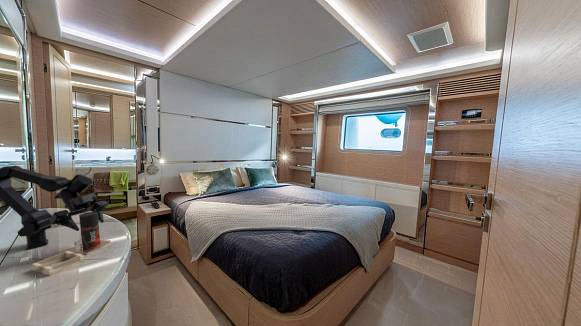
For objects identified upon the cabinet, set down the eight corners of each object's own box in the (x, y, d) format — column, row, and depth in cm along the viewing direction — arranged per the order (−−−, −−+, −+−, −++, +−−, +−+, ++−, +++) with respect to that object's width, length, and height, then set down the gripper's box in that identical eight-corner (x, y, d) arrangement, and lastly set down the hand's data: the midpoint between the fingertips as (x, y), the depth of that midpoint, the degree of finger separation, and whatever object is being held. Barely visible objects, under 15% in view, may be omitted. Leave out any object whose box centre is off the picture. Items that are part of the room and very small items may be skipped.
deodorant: (89, 250, 92) (86, 216, 90) (78, 248, 93) (75, 215, 91) (103, 243, 97) (101, 212, 96) (93, 242, 98) (90, 211, 97)
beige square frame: (32, 270, 78) (32, 264, 78) (67, 256, 88) (67, 250, 88) (49, 275, 75) (49, 269, 75) (83, 260, 85) (83, 254, 85)
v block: (110, 242, 100) (110, 235, 100) (87, 254, 89) (86, 247, 89) (90, 241, 101) (89, 234, 101) (64, 253, 90) (63, 246, 90)
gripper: (50, 193, 84) (71, 223, 82) (103, 184, 102) (121, 208, 100) (41, 210, 88) (60, 239, 86) (93, 198, 105) (111, 222, 103)
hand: (91, 226), depth 94 cm, fingers open, 9 cm apart
